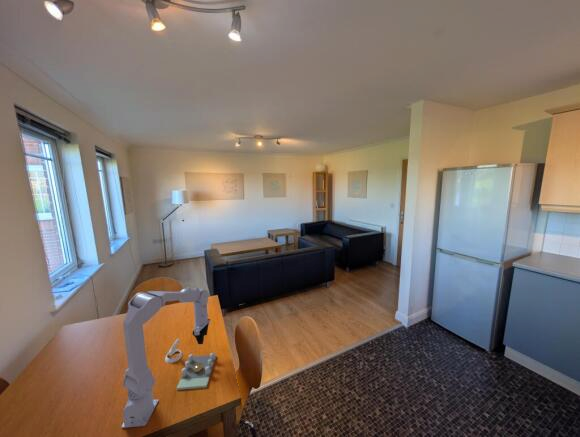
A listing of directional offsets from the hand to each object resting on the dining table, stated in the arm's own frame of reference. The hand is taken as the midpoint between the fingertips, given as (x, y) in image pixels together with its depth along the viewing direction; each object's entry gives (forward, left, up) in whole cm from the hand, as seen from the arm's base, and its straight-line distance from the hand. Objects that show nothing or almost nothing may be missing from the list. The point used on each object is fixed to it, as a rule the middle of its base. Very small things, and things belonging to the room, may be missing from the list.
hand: (202, 339), depth 106 cm
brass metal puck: (-9, 0, -9) cm, 12 cm away
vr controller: (+2, +15, -10) cm, 18 cm away
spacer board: (-9, 0, -10) cm, 13 cm away
